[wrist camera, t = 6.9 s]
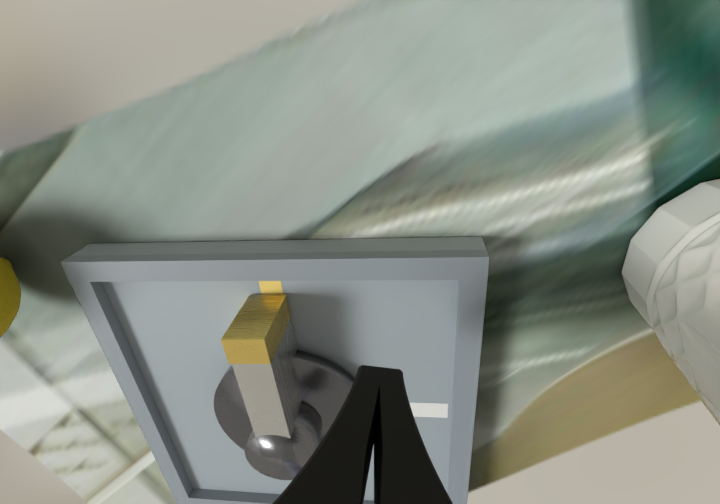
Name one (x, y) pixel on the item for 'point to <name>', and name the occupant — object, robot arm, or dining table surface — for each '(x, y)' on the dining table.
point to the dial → (276, 389)
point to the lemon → (8, 295)
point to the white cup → (682, 284)
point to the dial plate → (311, 330)
